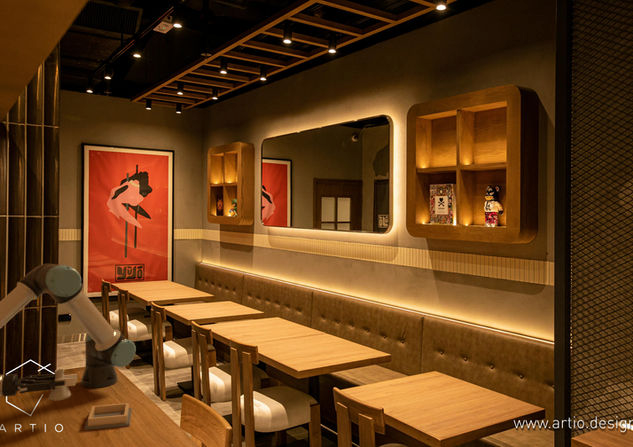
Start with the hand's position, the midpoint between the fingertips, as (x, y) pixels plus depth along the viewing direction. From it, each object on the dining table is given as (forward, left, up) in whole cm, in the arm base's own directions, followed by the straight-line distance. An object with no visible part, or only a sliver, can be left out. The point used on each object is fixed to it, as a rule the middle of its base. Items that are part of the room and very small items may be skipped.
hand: (75, 379), depth 192 cm
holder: (+2, +12, -15) cm, 19 cm away
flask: (0, -5, -6) cm, 8 cm away
